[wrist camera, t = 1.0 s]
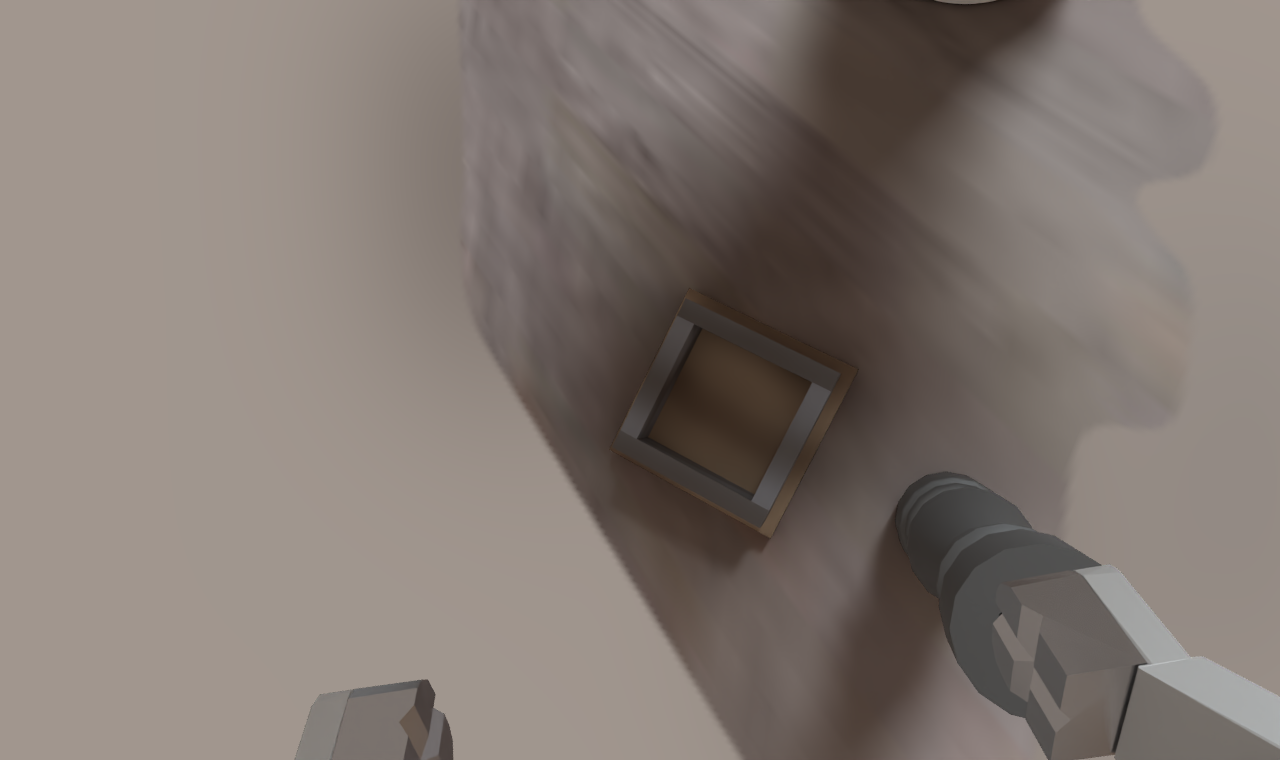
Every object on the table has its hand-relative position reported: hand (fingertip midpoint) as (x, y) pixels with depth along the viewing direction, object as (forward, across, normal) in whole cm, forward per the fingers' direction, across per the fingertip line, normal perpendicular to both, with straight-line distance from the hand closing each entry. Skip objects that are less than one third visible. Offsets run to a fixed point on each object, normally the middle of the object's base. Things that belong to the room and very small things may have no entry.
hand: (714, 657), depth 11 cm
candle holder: (+29, -16, +27) cm, 43 cm away
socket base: (+36, -5, +21) cm, 42 cm away
